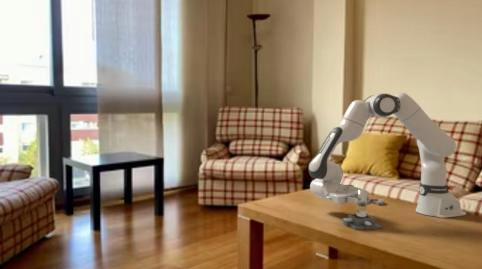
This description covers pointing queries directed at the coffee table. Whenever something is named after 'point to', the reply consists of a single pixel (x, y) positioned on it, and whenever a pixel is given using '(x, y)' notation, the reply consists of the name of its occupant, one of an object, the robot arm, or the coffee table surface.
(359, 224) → the shaft housing
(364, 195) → the coupler
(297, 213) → the coffee table surface
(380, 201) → the pulley system
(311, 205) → the coffee table surface
